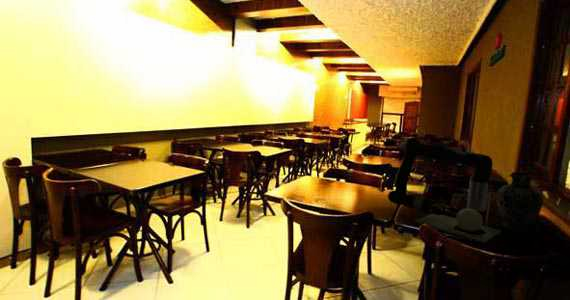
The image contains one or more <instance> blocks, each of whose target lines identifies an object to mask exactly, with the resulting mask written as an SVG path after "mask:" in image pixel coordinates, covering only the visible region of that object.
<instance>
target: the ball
mask: <svg viewBox="0 0 570 300" xmlns="http://www.w3.org/2000/svg"><path fill="white" fill-rule="evenodd" d="M455 218H456V221H457V224H458V226H457V227H458V228H460V229H461V230H463V231H464V232H466V233H468V232H469V233H474V232H477V231H478V230H479V229H480V228H481V226H483V217H482V215H481V214H480V212H479V211H476V210H473V209H469V208H468V209H467V208H465V209H463V210H461V211H460V212H459V213H458V214H457V217H456V216H455ZM479 231H480V230H479Z"/></svg>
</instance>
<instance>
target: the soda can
mask: <svg viewBox="0 0 570 300" xmlns="http://www.w3.org/2000/svg"><path fill="white" fill-rule="evenodd" d="M450 206H452V208H456V209H459V210H460V211H461V210H463V209H466V208H467V196H466V195H465V194H463V193H460V192H459V193H458V192H455V193H453V195H452V196H451V202H450ZM453 216H454V217H455V218H456V217H457V213H453V212H452V217H453Z"/></svg>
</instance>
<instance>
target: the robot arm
mask: <svg viewBox="0 0 570 300" xmlns="http://www.w3.org/2000/svg"><path fill="white" fill-rule="evenodd" d="M400 150H401V151H402V153H404V156H403V160H402V162H401V164H400V165H399V167H398V170H397V172H396V175H395V179H394V182H393V185H394V187H395V190H391V191H390V192H389V193H388V194H387V199H388V200H389V202H390V203H393V204H395V205H399V206H400V205H403V206H405V207H407V208H410V209H414V210H416V211H418V212H423V213H426V214H428V215H430V214H436V215H440V214H441V215H445V216H449V217H453V215H452V212H453V213H457V214H458V213H459V212H460V210H459V209H456V208H452V206H451V204H445V203H436V201H435V200H434V199H431V198H427V197H423V196H418V195H417V196H416V195H412V194H407V185H408V182H409V178H410V175H411V171H412V169H413V167H414V164H415V162H416V159H417V157H418V156H419V157H425V158H428V159H431V160H435V161H438V162H443V163H449V164H462V165H464V166H468V167H471V168H473V169H474V173H473V174H472V175H470V177H469V184H468V193H467V200H466V209H468V208H469V209H473V210H476V211H477V212H479V213H480V212H481V213H482V212H485V211H487V209H488V200H489V194H487V193H488V186H489V185H488V184H489V180H490V179H491V175H492V170H493V160H492V159H493V158H492V157H491V156H490V155H487V154H484V153H475V152H468V151H462V150H460V149H457V148H455V147H451V146H446V145H440V144H426V143H421V141H420V139H418V138H417V137H409V138H406V139H404V140H403V141H402V142H401V144H400Z"/></svg>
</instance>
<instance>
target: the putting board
mask: <svg viewBox="0 0 570 300" xmlns="http://www.w3.org/2000/svg"><path fill="white" fill-rule="evenodd" d="M502 196H503V194H498V192H493V191H489V193H488V200H487V208H486V211H487V212H486V217H485V218H486V220H485V226H484V225H482V226H481V228H480V229H479V231H482V232H484V233H483V234H472V233H470V232H469V233H468V232H466V231H462V230H458V229H456V227H459V226H458V224H457V221H456V217H453V216H451V217H449V216H446V215H441V214H440V215H436V214H433V213H432V214H428V215H425V216H423V217H420V218H417V219H415V220H414V223H416V224H420V225H422V223H426V224H429V225H430V226H432V227H433V228H432V227H431V228H432V229H436V230H439V231H441V230H442V231H441V232H446V233H448V234H452V235H454V234H456V235H455V236H457V235H459V236H458V237H461V236H463V237H462V238H464V237H466V238H465V239H467V238H471V239H475V240H478V241H481V242H486V243H487V241H488V242H489V241H491V240H492V239H494V238H495V237H497V236H498V235H501V233H502V230H499V229H496V228H492V227H488V225H489V222H488V221H489V218H490V217H489V215H490V209H491V200H495V201H496V200H499V201H502Z"/></svg>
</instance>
